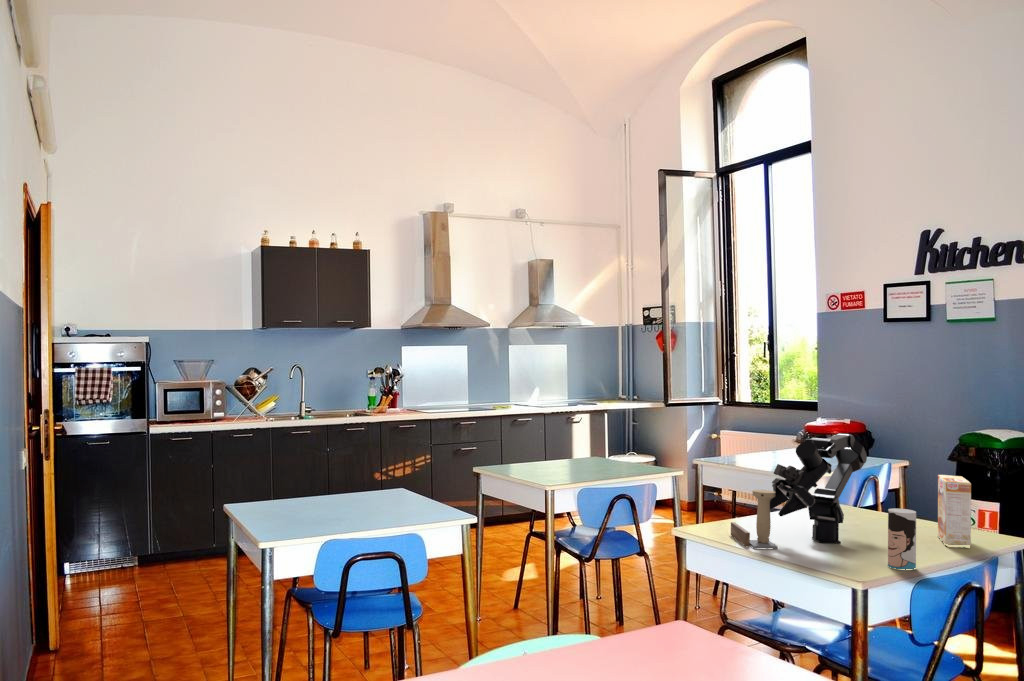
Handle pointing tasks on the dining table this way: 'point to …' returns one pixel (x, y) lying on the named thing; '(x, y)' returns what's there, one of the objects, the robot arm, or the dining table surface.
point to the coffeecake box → (954, 510)
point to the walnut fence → (740, 534)
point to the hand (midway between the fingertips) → (773, 512)
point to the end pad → (762, 544)
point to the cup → (901, 538)
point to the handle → (763, 514)
